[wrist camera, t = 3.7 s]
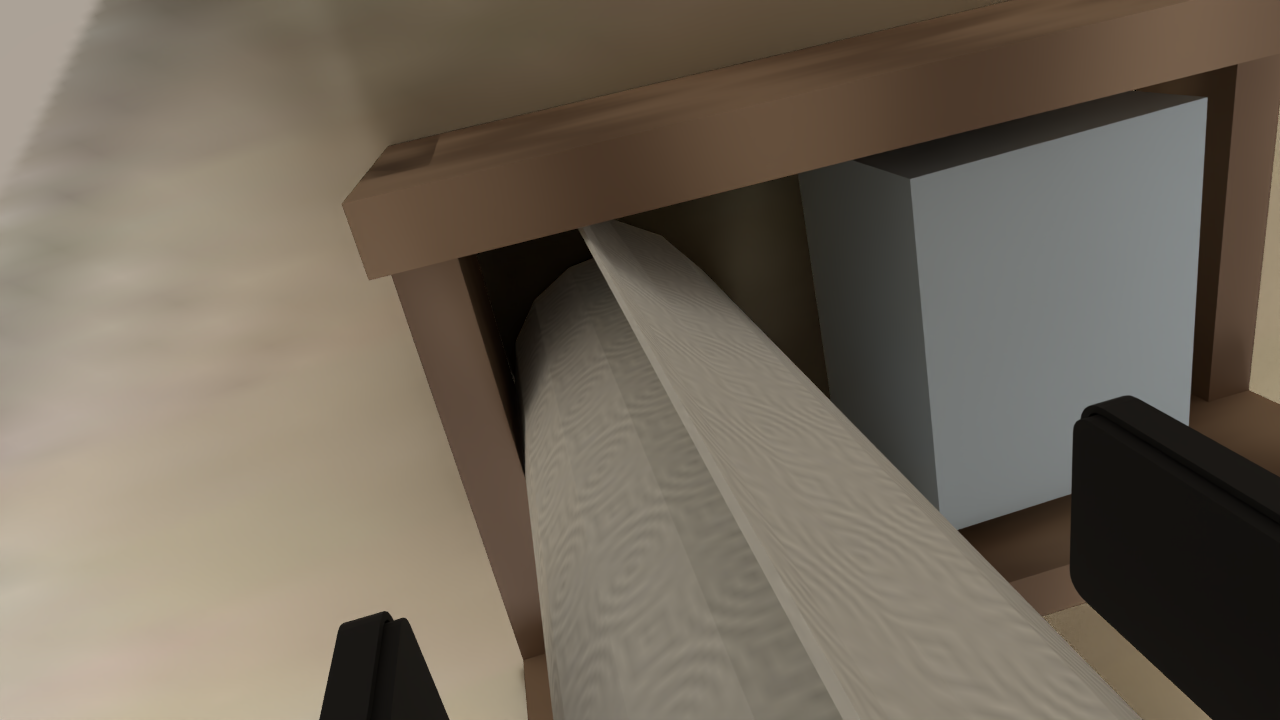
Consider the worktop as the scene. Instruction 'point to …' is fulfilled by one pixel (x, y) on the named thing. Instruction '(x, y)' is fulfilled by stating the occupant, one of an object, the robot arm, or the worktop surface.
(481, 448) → the rack
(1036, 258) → the offcut block
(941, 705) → the paper towel roll
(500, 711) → the worktop surface
